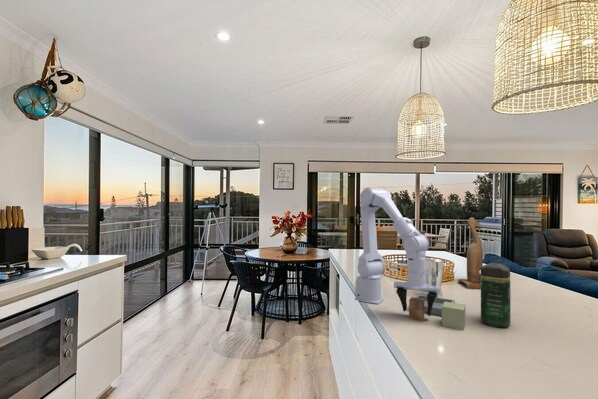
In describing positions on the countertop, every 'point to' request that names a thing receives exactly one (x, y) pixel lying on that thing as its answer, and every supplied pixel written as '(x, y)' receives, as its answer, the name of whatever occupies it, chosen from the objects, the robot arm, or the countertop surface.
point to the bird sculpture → (474, 258)
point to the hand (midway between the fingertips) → (416, 312)
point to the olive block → (453, 315)
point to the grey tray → (434, 305)
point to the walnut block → (416, 308)
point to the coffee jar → (495, 295)
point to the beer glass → (434, 273)
